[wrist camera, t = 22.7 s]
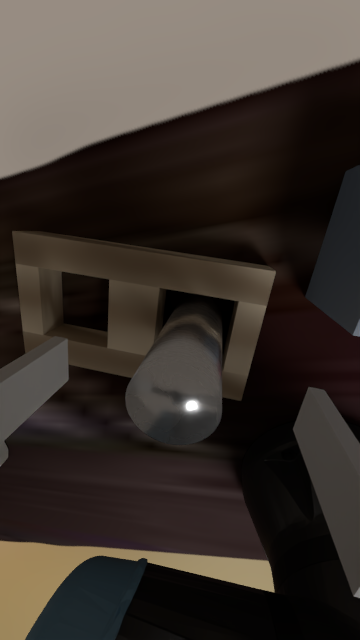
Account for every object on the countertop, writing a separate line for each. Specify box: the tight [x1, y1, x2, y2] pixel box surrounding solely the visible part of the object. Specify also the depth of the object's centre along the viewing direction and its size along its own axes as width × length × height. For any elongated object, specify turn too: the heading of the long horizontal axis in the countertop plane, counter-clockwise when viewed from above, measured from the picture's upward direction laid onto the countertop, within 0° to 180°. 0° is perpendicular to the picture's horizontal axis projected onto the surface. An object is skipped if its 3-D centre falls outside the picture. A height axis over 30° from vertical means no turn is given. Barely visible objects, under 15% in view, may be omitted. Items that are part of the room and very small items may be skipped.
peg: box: [125, 294, 222, 445], centre depth 17 cm, size 4×4×12 cm
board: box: [12, 231, 276, 401], centre depth 21 cm, size 11×20×3 cm, turn 82°
